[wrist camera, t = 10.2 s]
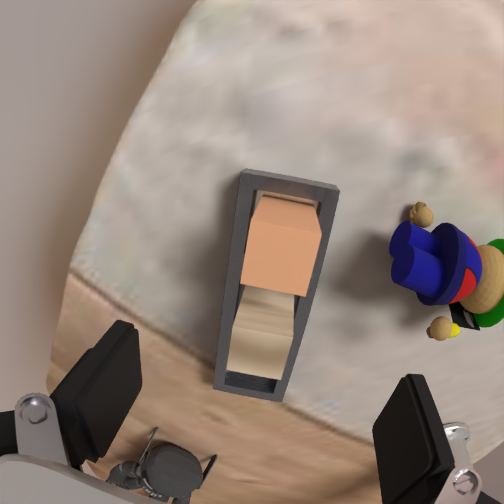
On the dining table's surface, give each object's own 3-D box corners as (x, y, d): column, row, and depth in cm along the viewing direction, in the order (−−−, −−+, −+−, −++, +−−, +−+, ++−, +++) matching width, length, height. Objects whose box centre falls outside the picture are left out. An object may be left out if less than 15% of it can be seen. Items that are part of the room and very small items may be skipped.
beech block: (284, 325, 31) (280, 379, 24) (241, 316, 32) (226, 369, 24) (294, 286, 30) (293, 337, 22) (247, 278, 30) (232, 326, 23)
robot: (99, 489, 48) (116, 466, 34) (115, 456, 57) (142, 415, 43) (167, 521, 49) (220, 511, 35) (179, 487, 58) (235, 458, 44)
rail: (282, 386, 36) (281, 402, 34) (217, 373, 36) (212, 389, 34) (335, 185, 27) (339, 190, 24) (245, 168, 27) (241, 172, 25)
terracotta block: (303, 252, 28) (305, 296, 21) (254, 242, 28) (240, 283, 21) (313, 205, 27) (322, 234, 19) (262, 194, 27) (251, 219, 19)
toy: (368, 343, 25) (490, 361, 24) (421, 305, 17) (550, 332, 17) (374, 231, 31) (482, 263, 30) (410, 173, 24) (527, 221, 23)
